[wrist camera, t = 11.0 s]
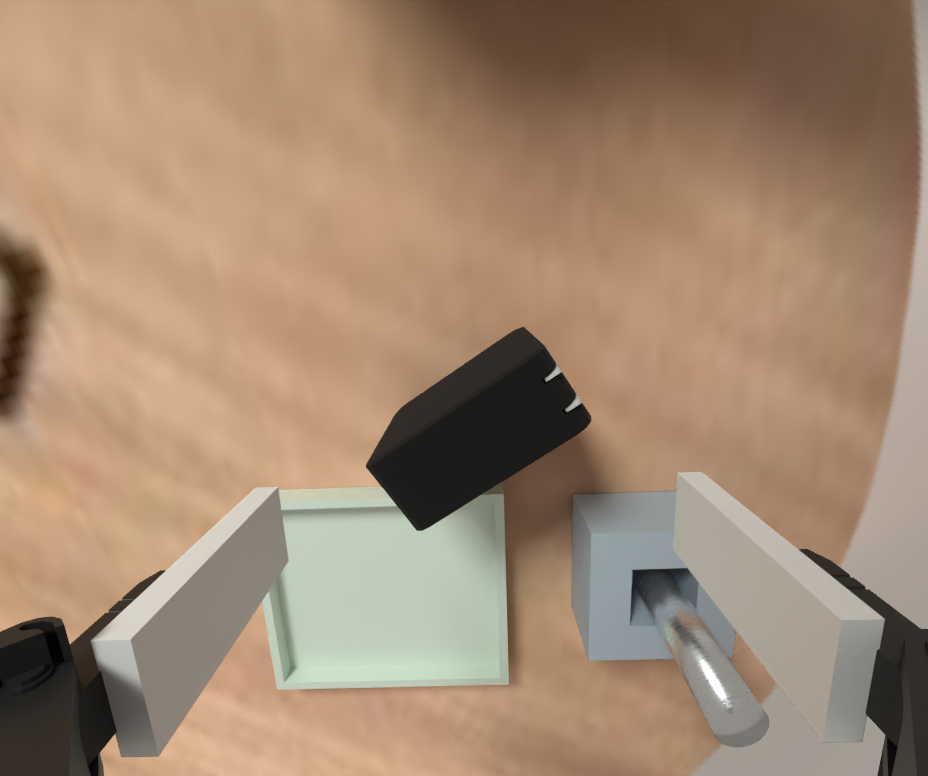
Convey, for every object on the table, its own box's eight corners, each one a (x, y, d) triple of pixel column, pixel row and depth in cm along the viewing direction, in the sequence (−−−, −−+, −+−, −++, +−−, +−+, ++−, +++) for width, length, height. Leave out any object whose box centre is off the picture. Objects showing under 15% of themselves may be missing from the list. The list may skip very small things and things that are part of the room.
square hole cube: (572, 494, 31) (591, 533, 26) (703, 489, 31) (746, 528, 26) (571, 605, 33) (588, 660, 29) (694, 602, 33) (732, 657, 28)
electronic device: (396, 409, 30) (360, 470, 20) (521, 324, 29) (546, 346, 19) (432, 457, 31) (414, 538, 21) (556, 377, 30) (597, 424, 20)
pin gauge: (623, 543, 31) (715, 704, 19) (658, 542, 31) (772, 703, 19) (621, 573, 32) (710, 747, 20) (656, 573, 32) (765, 747, 20)
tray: (257, 490, 32) (245, 502, 30) (502, 482, 31) (503, 494, 30) (286, 669, 35) (277, 689, 33) (507, 664, 35) (509, 684, 33)
